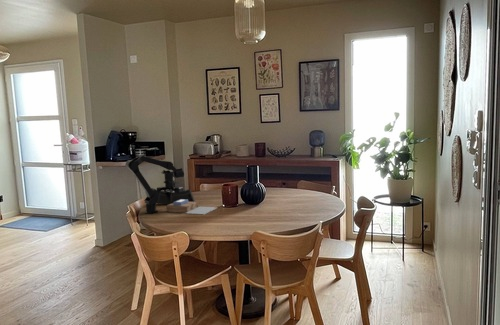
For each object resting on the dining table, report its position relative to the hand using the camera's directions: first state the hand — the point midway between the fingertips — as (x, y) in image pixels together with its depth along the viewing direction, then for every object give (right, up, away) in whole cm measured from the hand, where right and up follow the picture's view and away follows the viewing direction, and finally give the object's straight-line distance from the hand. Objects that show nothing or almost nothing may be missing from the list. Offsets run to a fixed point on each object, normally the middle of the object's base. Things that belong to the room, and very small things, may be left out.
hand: (170, 201), depth 278 cm
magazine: (-1, -3, +16) cm, 17 cm away
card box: (+8, -1, -3) cm, 8 cm away
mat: (+23, -5, -9) cm, 25 cm away
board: (+9, -5, -3) cm, 11 cm away
